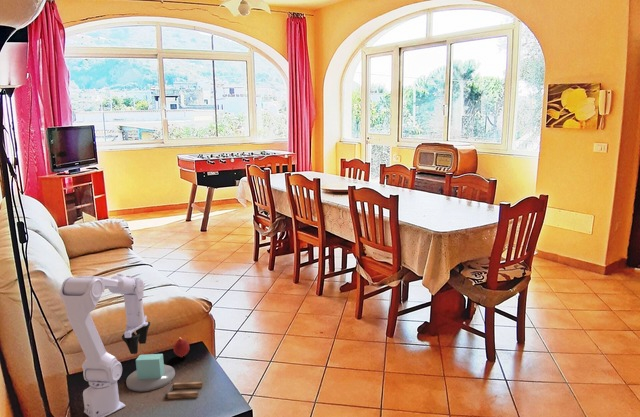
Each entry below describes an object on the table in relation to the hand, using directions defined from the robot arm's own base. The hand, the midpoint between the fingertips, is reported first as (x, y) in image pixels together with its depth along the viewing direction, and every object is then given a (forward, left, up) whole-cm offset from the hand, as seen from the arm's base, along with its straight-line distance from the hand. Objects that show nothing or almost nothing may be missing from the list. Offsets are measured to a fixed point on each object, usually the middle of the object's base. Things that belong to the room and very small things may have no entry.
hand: (138, 348), depth 160 cm
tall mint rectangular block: (+1, -5, -9) cm, 11 cm away
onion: (+17, 0, -11) cm, 20 cm away
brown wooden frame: (+3, -22, -10) cm, 24 cm away
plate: (+1, -5, -10) cm, 12 cm away
